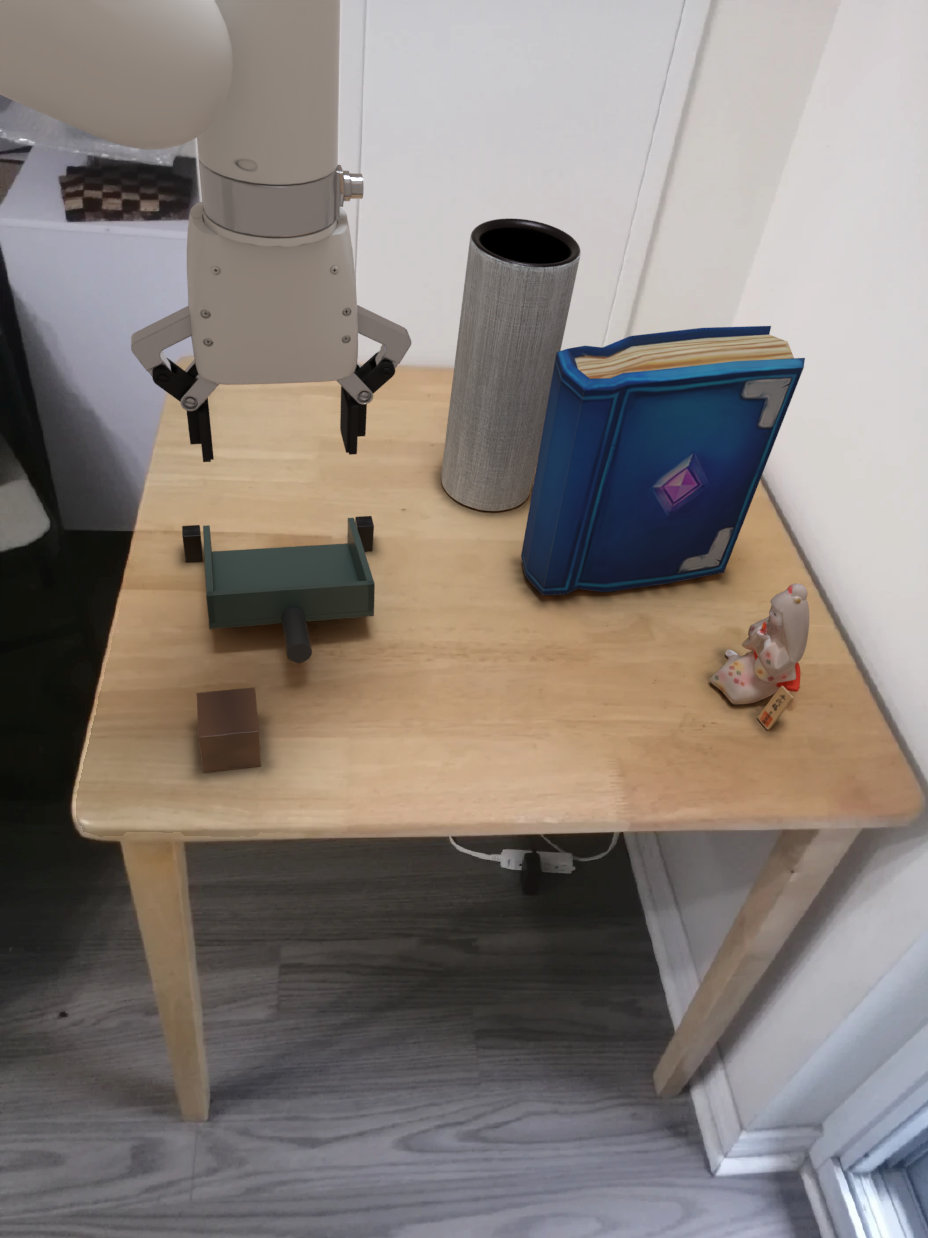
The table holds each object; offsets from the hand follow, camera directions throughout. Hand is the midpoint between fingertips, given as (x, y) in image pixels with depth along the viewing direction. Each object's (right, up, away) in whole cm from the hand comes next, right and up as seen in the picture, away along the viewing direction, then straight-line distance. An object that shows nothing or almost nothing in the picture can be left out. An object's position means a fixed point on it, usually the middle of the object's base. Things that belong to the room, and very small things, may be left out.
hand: (279, 446), depth 65 cm
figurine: (+39, -19, +21) cm, 48 cm away
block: (-6, -22, +9) cm, 25 cm away
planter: (+15, +3, +38) cm, 41 cm away
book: (+28, -7, +30) cm, 42 cm away
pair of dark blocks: (-5, -5, +26) cm, 27 cm away
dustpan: (-3, -8, +17) cm, 19 cm away
